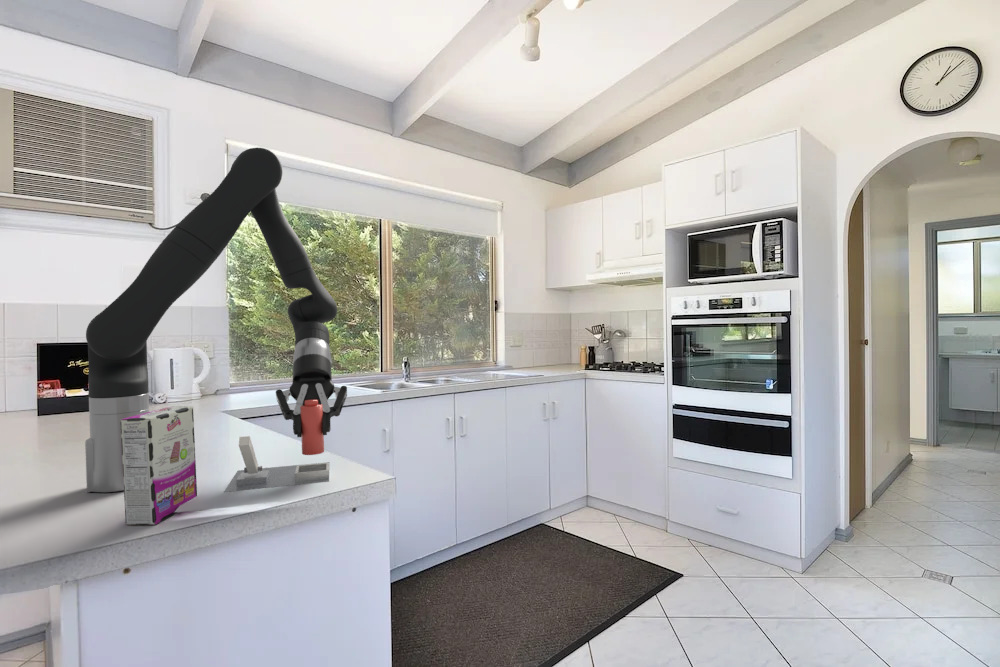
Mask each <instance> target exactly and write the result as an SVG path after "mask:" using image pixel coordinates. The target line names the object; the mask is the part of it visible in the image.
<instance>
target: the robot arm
mask: <svg viewBox="0 0 1000 667" xmlns="http://www.w3.org/2000/svg"><path fill="white" fill-rule="evenodd" d="M225 175H226V176H225V177H224V178H223V180H222V181H221V182H220V184H219V185H218V186H217V187H216V188H215V190H214V191H213V192H211V194H209V195H208V196H207V197H206V198H205V199H204V200H203V201H202V202H200V203H199V204H198V205H197V206H195V207H194V208H193V209H192V210H191V211H190V212H189V213H187V215H186V216H184V218H183V219H182V220H181V221H179V222H178V223H177V224H176V226H175V227H173V229H172V230H171V231H170V232H169V233H168V234H167V235H166V236H165V238H164V239H163V240H162V241H161V243H159V245H158V246H157V247H156V249H155V250H154V252H153V253H152V254H151V255H150V257H149V258H148V260H147V262H146V263H145V264H144V266H143V267H142V269H141V270H140V272H139V273H138V275H137V276H136V278H135V279H134V281H133V282H131V284H130V285H129V286H128V287H127V288H126V289H125V290H124V291H123V292H122V293H120V295H119V296H118V297H117V298H116V299H114V300H113V301H112V302H111V303H110V304H109V305H108V306H107V307H105V308H104V309H103V310H102V311H101V312H99V313H98V314H96V316H94V318H92V319H91V320H90V322H89V323H88V325H87V328H86V331H85V338H86V342H87V354H88V355H87V356H88V358H87V359H88V360H87V361H88V377H87V378H88V379H87V380H88V382H87V383H88V384H87V386H88V390H87V391H88V411H89V412H88V414H89V416H88V418H89V438H87V439H86V440H85V442H84V445H85V471H86V472H85V476H86V478H85V479H86V493H90V492H92V493H93V492H95V493H111V492H113V493H114V492H122V491H124V481H123V461H122V441H121V422H120V420H121V419H124V418H128V417H131V416H135V415H139V414H143V413H147V412H150V398H149V396H150V395H149V371H148V345H147V341H148V339H149V338H150V336H151V334H152V333H153V331H154V330H155V328H156V326H157V325H158V323H159V322H160V321H161V319H162V317H163V316H164V315H165V314H166V312H167V311H168V310H169V309H170V307H171V306H172V305H173V304H174V303H175V302H176V301H177V300H178V299H179V298H180V297H181V296H182V295H184V294H185V293H186V292H187V291H188V290H189V289H191V288H192V286H193V285H194V284H196V282H198V280H199V279H201V277H202V276H204V274H205V273H206V272H207V271H208V269H210V267H211V266H212V265H213V264H214V263H215V261H217V259H218V258H219V257H220V255H221V254H222V253H223V252H224V250H225V248H226V247H227V246H228V244H229V243H230V242H231V240H233V239H232V238H233V237H234V236H235V234H236V233H237V231H238V229H239V228H240V227H241V225H242V223H243V222H244V221H245V219H246V217H248V215H249V214H250V213H251V215H252V216H253V218H254V220H255V223H256V224H257V225H258V228H259V231H261V234H262V236H263V238H264V241H265V243H266V245H267V247H268V249H269V252H270V254H271V256H272V259H273V262H274V263H275V266H276V269H277V271H278V274H279V275H280V277H281V281H282V283H283V285H284V286H285V287H286V288H287V289H290V290H292V289H306V290H307V291H308V292H309V293H311V294H309V295H305V296H303V297H300V298H299V297H298V298H296V299H294V300H292V301H291V302H290V304H289V305H288V308H287V316H288V318H289V320H290V322H291V325H292V328H293V331H294V337H295V340H294V352H293V359H292V360H293V361H292V384H291V385H290V387H289V388H287V389H285V390H282V389H281V388H279V389H276V390H275V396H276V402H277V404H278V406H279V409H280V411H281V414H282V416H283V418H284V420H286V421H289V420H291V421H292V422H293V423H292V429H293V434H294V436H295V435H297V437H296V438H301V435H302V433H301V410H300V406H302V405H305V400H314V399H315V400H318V404H322V405H323V435H324V436H327V435H328V433H330V432H331V430H332V429H331V419H332V418H333V417H339V416H340V415H341V413H342V409H343V407H344V405H345V402H346V399H347V397H348V387H347V385H342V386H339V387H338V386H335V384H334V383H333V380H332V378H333V377H332V366H333V365H332V364H333V363H332V355H331V354H332V353H331V348H330V346H331V345H330V331H329V329H328V327H327V326H326V325H325V323H328V322H331V321H333V320H334V319H335V318H336V317H337V314H338V313H337V312H338V307H337V306H338V305H337V303H336V301H335V298H333V297H332V295H331V294H330V293H329V291H328V289H327V288H325V285H323V284H322V282H321V280H320V278H318V276H317V274H316V272H315V271H314V268H313V267H312V263H311V261H310V259H309V256H308V254H307V252H306V249H305V247H304V245H303V243H302V241H301V239H300V238H299V237H298V234H296V232H295V231H294V229H293V226H291V225H290V222H289V221H288V220H287V218H286V216H285V213H284V211H283V209H282V207H281V204H280V202H279V201H280V200H279V197H278V194H277V191H276V189H277V187H279V185H280V184H281V181H282V177H283V166H282V163H281V161H280V159H279V157H278V155H276V153H274V152H273V151H272V150H270V149H268V148H263V147H251V148H246V149H245V150H244V151H242V152H241V153H239V155H237V157H236V158H235V160H234V161H233V163H232V164H231V167H230V169H229V171H228V173H227V174H225ZM333 394H335V398H336V399H335V402H334V403H333V406H331V407H330V405H329V403H328V402H329V401H328V400H329V399H330V398H331V396H333ZM290 397H291V398H293V399H294V400H295V407H294V409H291V408H290V406H289V403H288V401H289V400H290V399H289V398H290Z"/></svg>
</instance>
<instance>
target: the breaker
mask: <svg viewBox="0 0 1000 667" xmlns="http://www.w3.org/2000/svg"><path fill="white" fill-rule="evenodd" d="M238 447H239V450H240V454H241V456H242V459H243V462H244V465H245V467H244V468H243V470H244V473H248V474H253V473H258V472H261V471H262V468H263V465H259V463H258V460H257V456H256V452H255V449H254V446H253V443H252V439H251V436H249V435H248V436H246V435H245V436H239V440H238Z"/></svg>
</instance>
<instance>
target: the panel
mask: <svg viewBox="0 0 1000 667" xmlns="http://www.w3.org/2000/svg"><path fill="white" fill-rule="evenodd" d="M328 482H330V461H328V462H315V463H304V464H296V465H283V466H274V467H273V466H272V467H262V471H261V472H258V473H253V474H248V473H244V469H241V470H239V469H238V470H237V471H236V472H235V473H234V475H233V476H232V478H231V479H230V482H229V483H228V485H227V486H226V488H225V489H224V490H223V493H230V492H231V493H232V492H238V491H239V492H240V491H249V490H251V491H252V490H257V489H259V490H260V489H269V488H279V487H287V486H288V487H289V486H297V485H309V484H318V483H319V484H320V483H328Z"/></svg>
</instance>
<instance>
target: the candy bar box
mask: <svg viewBox="0 0 1000 667" xmlns="http://www.w3.org/2000/svg"><path fill="white" fill-rule="evenodd" d="M120 422H121V441H122V461H123V481H124V490H123V495H124V496H123V497H124V515H125V518H124V520H125V526H153V525H158V524H159V523H161V522H163V521H165V520H166V519H169V518H170V517H172V516H174V515H175V514H177V513H178V512H177V510H178V508H179V507H180V506H182V505H184V504H185V503H187V502H189V501H191V500H193V499H194V498H196V497H198V487H197V486H198V485H197V482H198V481H197V468H196V467H197V465H196V464H197V463H196V444H195V443H196V442H195V440H196V439H195V420H194V406H189V405H188V406H182V405H181V406H179V405H178V406H166V407H162V408H158V409H155V410H151V411H150V410H149V412H147V413H143V414H139V415H135V416H131V417H128V418H124V419H121V420H120Z"/></svg>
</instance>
